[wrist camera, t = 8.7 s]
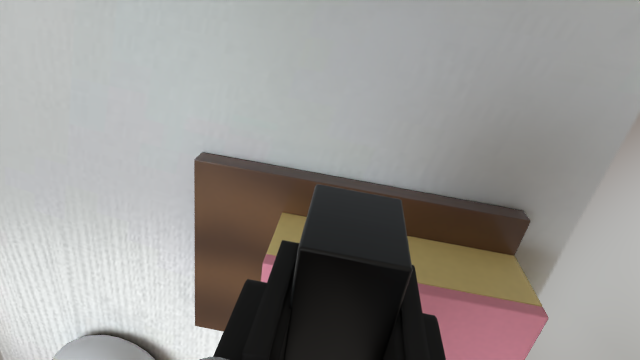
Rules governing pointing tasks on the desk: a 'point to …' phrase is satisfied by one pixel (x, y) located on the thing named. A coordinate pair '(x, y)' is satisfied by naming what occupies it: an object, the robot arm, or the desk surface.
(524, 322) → the cake
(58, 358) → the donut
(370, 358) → the knife
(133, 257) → the desk surface
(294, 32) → the desk surface
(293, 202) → the cake board
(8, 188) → the desk surface
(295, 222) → the cake slice
